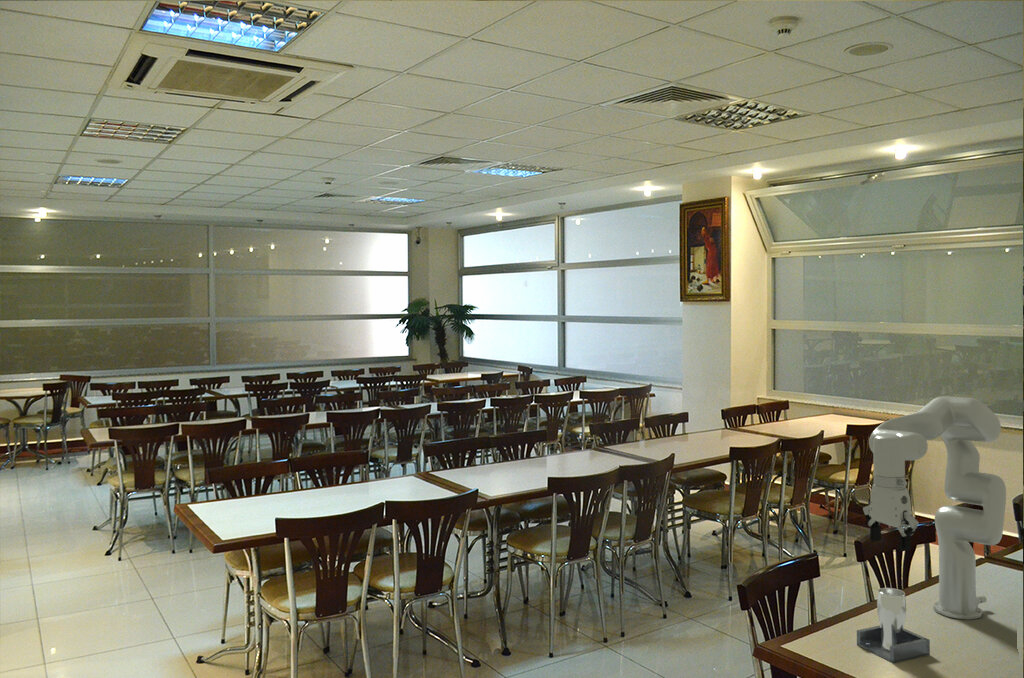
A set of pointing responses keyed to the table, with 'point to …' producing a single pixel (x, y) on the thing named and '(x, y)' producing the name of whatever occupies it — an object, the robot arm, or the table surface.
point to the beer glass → (891, 616)
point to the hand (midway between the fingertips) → (890, 545)
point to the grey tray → (898, 653)
